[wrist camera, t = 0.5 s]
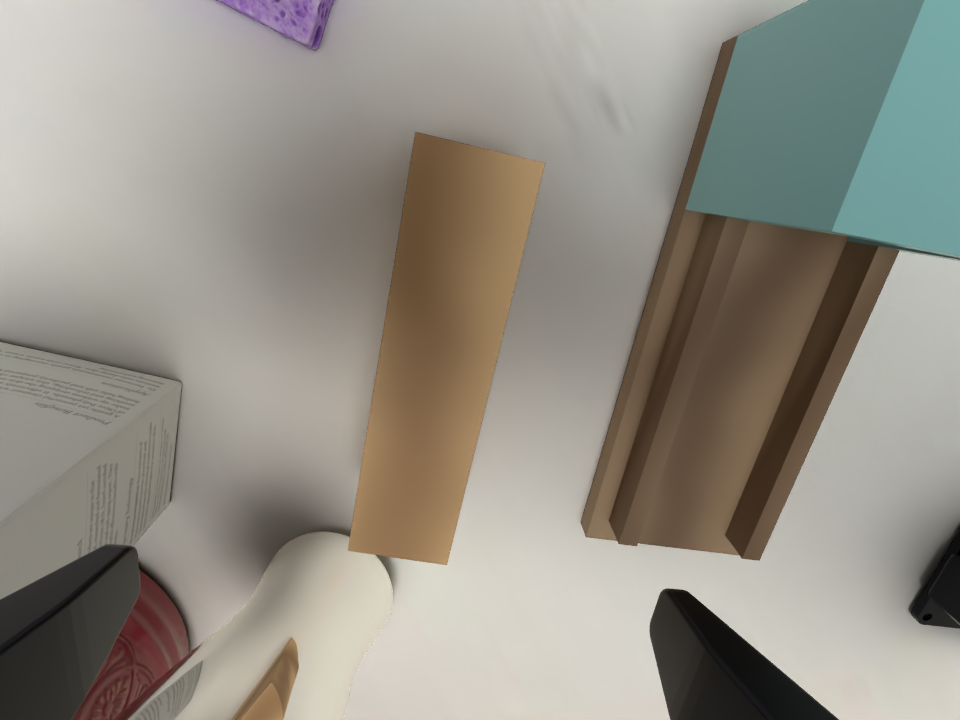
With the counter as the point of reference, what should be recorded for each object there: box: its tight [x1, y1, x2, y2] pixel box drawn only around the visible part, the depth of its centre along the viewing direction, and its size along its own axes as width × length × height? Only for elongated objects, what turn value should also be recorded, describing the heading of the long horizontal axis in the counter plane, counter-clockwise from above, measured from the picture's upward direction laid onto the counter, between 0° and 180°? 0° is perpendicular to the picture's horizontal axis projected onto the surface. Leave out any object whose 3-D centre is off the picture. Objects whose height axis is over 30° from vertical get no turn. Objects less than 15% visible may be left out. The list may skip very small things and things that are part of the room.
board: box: [581, 36, 899, 560], centre depth 20 cm, size 8×20×2 cm, turn 170°
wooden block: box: [348, 132, 545, 565], centre depth 18 cm, size 4×14×5 cm, turn 167°
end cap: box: [685, 0, 960, 261], centre depth 14 cm, size 8×6×8 cm
